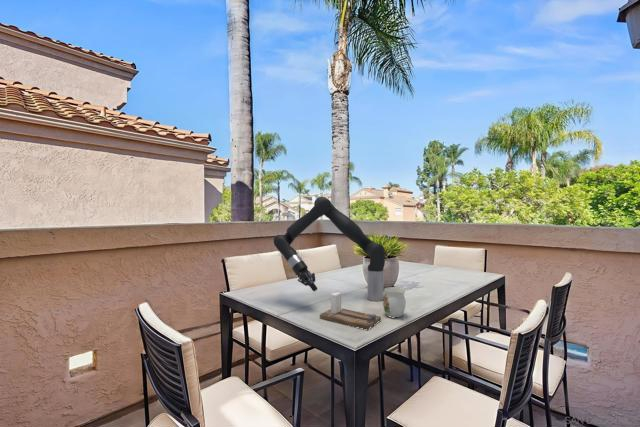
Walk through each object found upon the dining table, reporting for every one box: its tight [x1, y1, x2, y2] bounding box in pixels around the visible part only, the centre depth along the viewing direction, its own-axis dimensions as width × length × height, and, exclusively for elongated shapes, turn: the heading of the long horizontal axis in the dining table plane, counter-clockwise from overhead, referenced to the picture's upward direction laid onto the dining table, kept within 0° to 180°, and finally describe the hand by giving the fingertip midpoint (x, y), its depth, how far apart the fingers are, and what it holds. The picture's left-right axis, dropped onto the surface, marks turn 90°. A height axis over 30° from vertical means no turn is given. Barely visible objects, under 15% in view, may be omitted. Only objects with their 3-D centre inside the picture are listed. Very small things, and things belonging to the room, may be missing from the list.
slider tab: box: [330, 292, 342, 314], centre depth 156 cm, size 5×3×9 cm, turn 145°
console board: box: [319, 307, 382, 330], centre depth 151 cm, size 14×26×4 cm, turn 55°
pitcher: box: [382, 286, 406, 318], centre depth 157 cm, size 11×18×14 cm, turn 15°
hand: (315, 290), depth 163 cm, fingers closed
